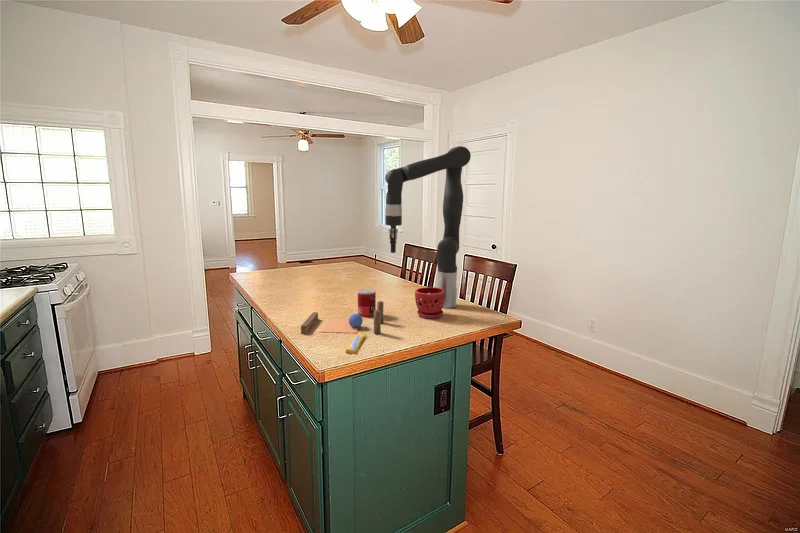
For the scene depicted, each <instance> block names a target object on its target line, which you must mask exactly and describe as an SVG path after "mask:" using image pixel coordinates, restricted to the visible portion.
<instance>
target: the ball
mask: <svg viewBox="0 0 800 533" xmlns="http://www.w3.org/2000/svg"><path fill="white" fill-rule="evenodd" d="M363 320H364V319H363V317H361V316H360V315H359V314H358V313H353V314H351V315H349V318H348V321H349V324H350V326H351V327H353V328H358V327H359V328H360V327H361V326H362V324H363V322H364V321H363ZM359 328H358V329H359Z"/></svg>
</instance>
